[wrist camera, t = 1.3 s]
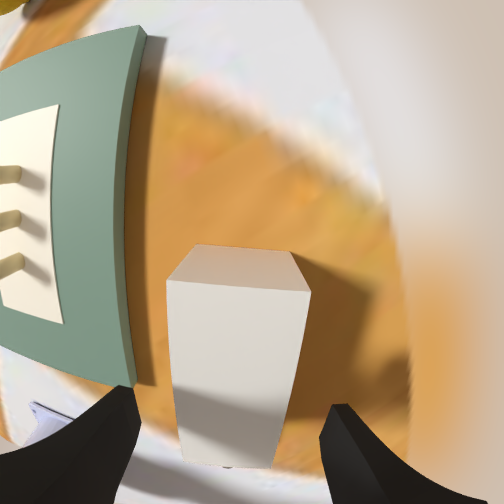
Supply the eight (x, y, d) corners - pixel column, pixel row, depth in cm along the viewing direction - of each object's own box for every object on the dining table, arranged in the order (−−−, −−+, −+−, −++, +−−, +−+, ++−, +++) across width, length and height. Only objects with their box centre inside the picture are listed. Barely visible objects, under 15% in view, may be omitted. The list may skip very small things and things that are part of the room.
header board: (137, 379, 15) (117, 418, 12) (-1, 334, 15) (-27, 354, 11) (147, 34, 10) (120, 1, 7) (-9, 84, 10) (-41, 77, 6)
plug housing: (260, 438, 16) (262, 494, 12) (198, 433, 16) (188, 488, 12) (289, 251, 13) (311, 291, 8) (196, 243, 13) (166, 279, 8)
